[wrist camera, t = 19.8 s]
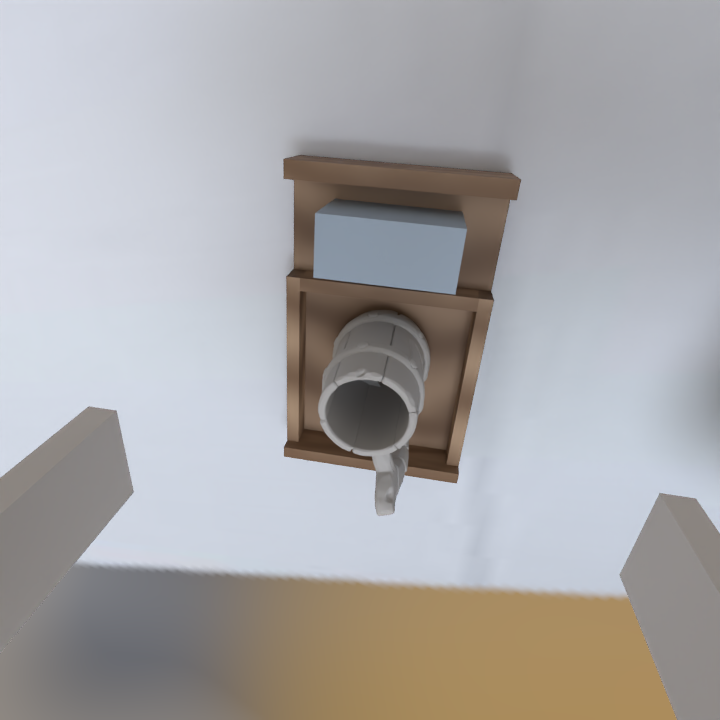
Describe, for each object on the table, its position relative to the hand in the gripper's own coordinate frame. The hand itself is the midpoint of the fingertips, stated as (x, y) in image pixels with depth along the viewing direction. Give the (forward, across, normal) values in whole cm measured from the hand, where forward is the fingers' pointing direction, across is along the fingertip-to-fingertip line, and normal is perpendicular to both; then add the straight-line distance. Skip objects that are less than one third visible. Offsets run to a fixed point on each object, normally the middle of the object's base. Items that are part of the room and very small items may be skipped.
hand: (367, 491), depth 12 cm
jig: (+27, -2, -6) cm, 28 cm away
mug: (+25, -1, -10) cm, 27 cm away
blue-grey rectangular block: (+25, -2, +1) cm, 25 cm away
